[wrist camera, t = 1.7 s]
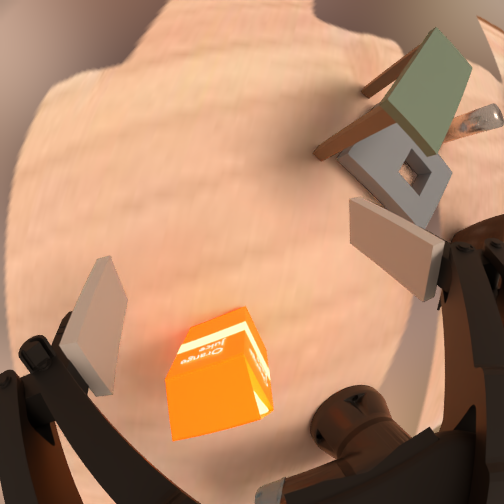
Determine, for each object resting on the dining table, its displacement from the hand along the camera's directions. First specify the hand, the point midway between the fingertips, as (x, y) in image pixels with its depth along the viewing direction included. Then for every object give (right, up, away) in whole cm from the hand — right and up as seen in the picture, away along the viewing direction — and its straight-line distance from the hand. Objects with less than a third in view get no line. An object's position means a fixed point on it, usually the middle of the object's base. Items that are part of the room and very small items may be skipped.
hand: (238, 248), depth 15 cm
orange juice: (-3, -13, +26) cm, 29 cm away
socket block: (+25, +14, +29) cm, 41 cm away
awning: (+17, +20, +27) cm, 38 cm away
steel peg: (+38, +23, +30) cm, 54 cm away
